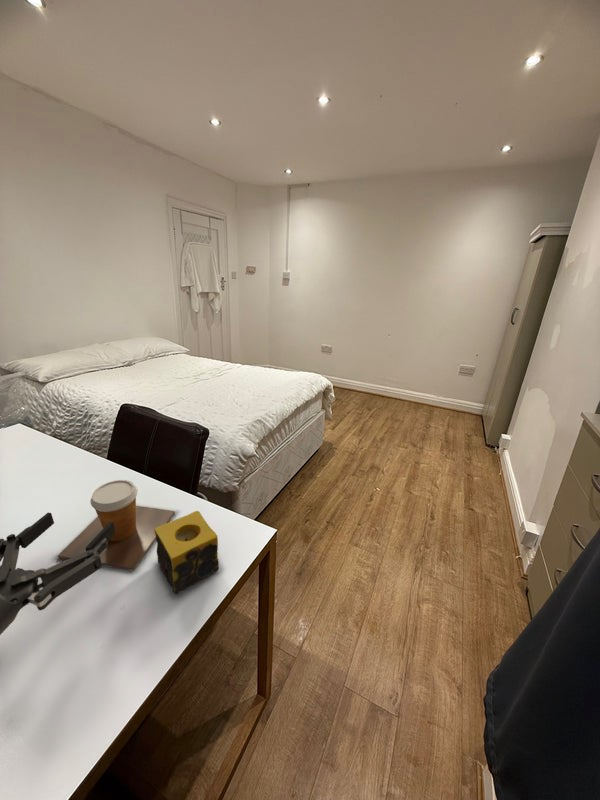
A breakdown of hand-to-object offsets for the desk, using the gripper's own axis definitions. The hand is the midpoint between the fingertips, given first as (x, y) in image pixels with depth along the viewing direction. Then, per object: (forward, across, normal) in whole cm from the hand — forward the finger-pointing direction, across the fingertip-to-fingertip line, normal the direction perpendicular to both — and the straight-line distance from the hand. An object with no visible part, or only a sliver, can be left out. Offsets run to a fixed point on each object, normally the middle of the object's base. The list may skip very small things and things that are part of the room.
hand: (81, 522), depth 65 cm
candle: (+4, +20, -12) cm, 24 cm away
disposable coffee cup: (+10, 0, -12) cm, 15 cm away
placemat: (+10, 0, -12) cm, 16 cm away
